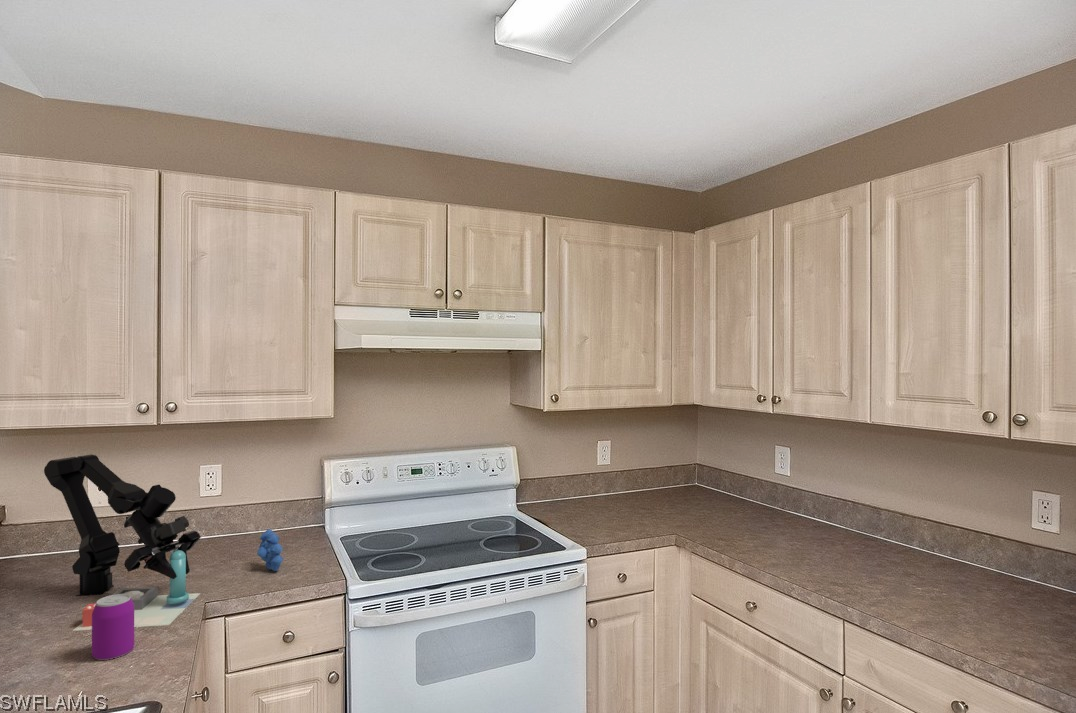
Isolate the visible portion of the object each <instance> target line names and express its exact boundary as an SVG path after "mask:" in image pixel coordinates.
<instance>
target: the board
mask: <svg viewBox="0 0 1076 713" xmlns="http://www.w3.org/2000/svg"><path fill="white" fill-rule="evenodd" d="M200 594H201V593H200V592H197V593H189V599H188V600H187V601H184V602H181V603H177V604H169V603H167V596H168V595H169V594H158V596H157V597H156V598H155V599H154V600H153V601H151V602H150V603H149V604H148V605H147V606H146V607H145V608H143V609H142V610H134V628H139V627H141V628H143V627H157V626H169V625H171V623H172V622H173V621H174V620H176V619H177V618H178V617H179V616H180V614H181V613H182V612H183V611H185V609H186V608H187V607H188V606H189V605H190V604H191V603H192V602H193V601H195V599H197V597H199V596H200ZM87 630H88V631H90V630H91V631H92V626H88V627H83V622H81V623H80V624H79V625H78V626H77V627H75V628H74V629H73V630H72V631H76V632H77V631H87Z"/></svg>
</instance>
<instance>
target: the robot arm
mask: <svg viewBox="0 0 1076 713" xmlns="http://www.w3.org/2000/svg"><path fill="white" fill-rule="evenodd" d="M43 473H44V476H45V477H46V479H47V481H48V482H49V484H50V485H51V487H53V488H54V489H56V490H58V491H59V492H61V494H62V497H63V498H64V501H65V503H66V505H67V507H68V510H69V512H70V513H69V514H70V515H71V517H72V520H73V522H74V525H75V528H76V530H77V532H78V534H79V536H80V544H79V548H78V554H79V558H77V560H76V561H75V562H74V563H73V564H72V566H71V567H72V571H73V572H72V573H73V574H74V575H78V576H79V592H78V593H77V594H75V596H76V597H85V596H102V595H104V594H106V593H107V592H108V591H110V590H111V589H112V588H114V587H115V585H114V584H113V573H112V572H111V567H114V566H117V562H118V558H119V555H120V552H121V551H120V547H119V545H120V543H119V542H118V540H117V538H116V535H115V533H114V532H113V531H110V532H106V531H104V530H103V528H102V526H101V524H100V521H99V519H98V516H97V515H96V511H95V508H94V507H93V505H92V502H91V500H90V498H89V496H88V493H87V490H86V488H85V486H84V481H85V478H87V480H89V481H90V482H91V483H92V484H94V485H95V486H96V487H97V488H98V489H99V490H100V491H102V492H103V493H104V494H105V495H106V497H107V503H108V505H109V506H110V507H111V509H112V510H113V511H114V512H115V513H116V514H118V515H123V514H127V513H130V512H132V513H131V514H130V515H128V516H126V517H125V521H124V524H123V528H124V529H125V528H130V527H132V529H133V530H134V532H135V533H136V534H137V537H139V539H138V540H137V543H138V545H141V544H143V545H144V546H142V547H138V548H135V549H133V551H132V552H131V553H130V554H129V555H128V556H127V558H126V559H125V560H124V568H125V569H126V570H127V572H133V571H135V570H138V569H139V568H140V567H141V564H142V563H141V562H144V563H145V565H144V566H143V567H142V568H143V569H144V570H146V569H149V570H150V571H153V572H157V573H159V574H161V575H162V576H165V577H168V578H169V579H170V578H172V579H175V578H176V577H177V575H176V573H175V571H174V570H173V568H172V567H171V565H170V561H169V560H167V554H166V553H170V555H171V554H172V553H173V552H175V551H177V550H180V551H183V552H184V553H185V555H186V575H188V574H189V573H190V571H191V570H190V566H189V561H188V553H187V552H188V551H190V550H191V549H192V548H194V546H195V545H196V543H198V542H199V540H200V539H201V538H202V536H201V535H200V533H199V532H198V531H197V530H191V531H188V532H186V531H187V529H186V528H189V526H190V522H189V520H188V519H187V517H186V516H185V515H182V516H179V517H177V518H175V519H174V521H171V522H169V523H168V522H163V523H162V522H161V521H160V519H159V518H161V517H163V515H165V513H166V512H167V511H168V510H169V508H170V507H171V506H172V505H173V503H175V501H176V498H177V497H176V494H175V492H174V491H173V490H170V489H169V488H166V487H162V486H161V485H160V484H155V485H152V486H151V487H150V489H149V490H148V492H147V491H145V490H144V489H143V488H141V487H140V486H138V485H136V484H133V483H130V482H126V481H124V480H123V479H121V478H120V477H119V476H118V475H117V474H115V473H114V472H113V470H111V469H110V468H109V467H107V466H106V465H105V463H103V462H102V461H100V458H99V457H98V455H96V454H92V453H91V454H86V455H85V454H84V455H80V456H70V457H64V458H57V459H51V460H49V461H48V462H47V464H45V466H44V469H43ZM182 532H183V533H182ZM184 532H185V533H184ZM180 533H182V534H181V535H180V537H179V538H178V534H180ZM177 538H178V539H177ZM176 539H177V540H176ZM174 540H175V541H174Z"/></svg>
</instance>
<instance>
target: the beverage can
mask: <svg viewBox="0 0 1076 713" xmlns="http://www.w3.org/2000/svg"><path fill="white" fill-rule="evenodd" d="M114 594H115V593H114ZM95 603H96V605H95V607H94V610H93V612H92V630H91V655H92V657H93V658H94V659H95V660H99V661H107V660H109V659H110V660H114V659H113V658H115V659H118V658H121V657H123V655H124V656H125V654H126V655H127V654H129V653H131V651H133V650H134V648H135V627H134V604H133V601H132V599H131V597H130V595H128V594H115V595H113V594H110V595H107V596H104V597H101V598H99V599H98V600H96V602H95ZM120 656H121V657H120ZM117 657H118V658H117Z"/></svg>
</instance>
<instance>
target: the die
mask: <svg viewBox="0 0 1076 713" xmlns="http://www.w3.org/2000/svg"><path fill="white" fill-rule="evenodd" d="M95 605H96V602H95V603H89V604H87V605H86V606H85V607H84V609H82V623H83V627H88V626H92V612H93V610H94V607H95Z"/></svg>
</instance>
